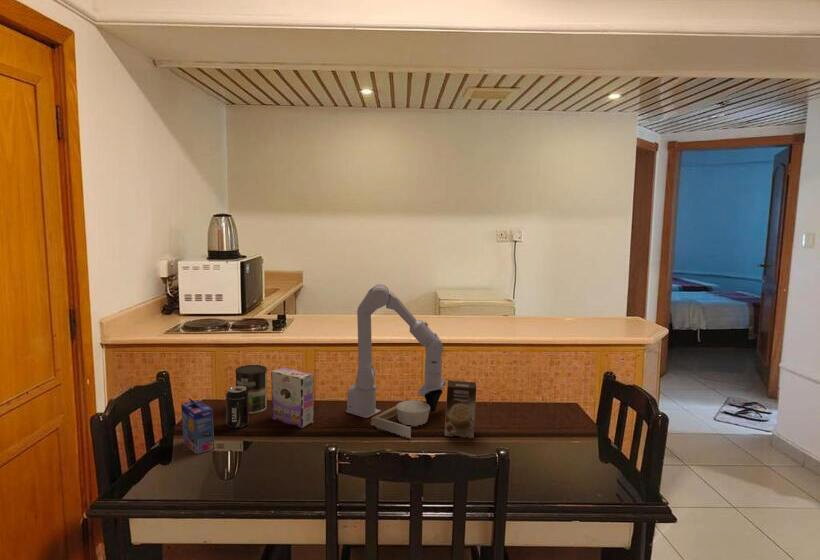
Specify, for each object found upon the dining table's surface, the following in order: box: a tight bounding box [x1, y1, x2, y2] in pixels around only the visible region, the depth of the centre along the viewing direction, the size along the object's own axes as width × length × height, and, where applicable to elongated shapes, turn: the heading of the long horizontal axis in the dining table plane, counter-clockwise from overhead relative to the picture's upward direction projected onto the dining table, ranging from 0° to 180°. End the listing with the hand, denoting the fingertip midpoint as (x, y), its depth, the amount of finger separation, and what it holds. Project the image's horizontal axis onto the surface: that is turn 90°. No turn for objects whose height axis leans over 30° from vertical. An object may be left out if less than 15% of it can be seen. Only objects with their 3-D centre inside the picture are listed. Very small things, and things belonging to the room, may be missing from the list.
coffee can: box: [235, 364, 268, 415], centre depth 181 cm, size 10×10×14 cm
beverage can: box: [225, 385, 250, 429], centre depth 167 cm, size 7×7×12 cm
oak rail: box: [370, 405, 398, 426], centre depth 175 cm, size 2×14×2 cm, turn 146°
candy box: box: [270, 367, 315, 429], centre depth 171 cm, size 14×6×16 cm, turn 58°
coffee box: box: [444, 379, 477, 439], centre depth 165 cm, size 9×6×16 cm
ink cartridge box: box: [180, 397, 215, 455], centre depth 151 cm, size 10×6×14 cm, turn 45°
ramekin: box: [395, 400, 431, 427], centre depth 174 cm, size 11×11×5 cm
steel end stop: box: [375, 417, 412, 439], centre depth 164 cm, size 13×1×4 cm, turn 56°
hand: (431, 410), depth 181 cm, fingers closed
